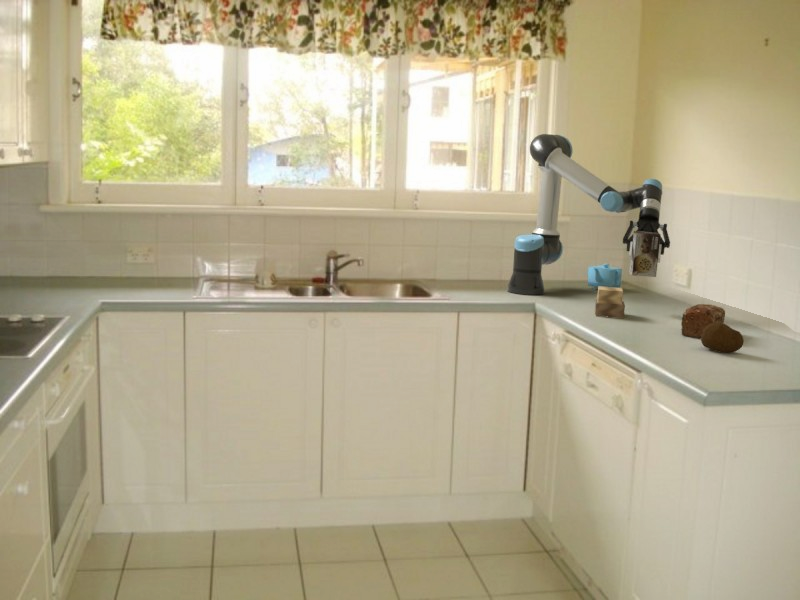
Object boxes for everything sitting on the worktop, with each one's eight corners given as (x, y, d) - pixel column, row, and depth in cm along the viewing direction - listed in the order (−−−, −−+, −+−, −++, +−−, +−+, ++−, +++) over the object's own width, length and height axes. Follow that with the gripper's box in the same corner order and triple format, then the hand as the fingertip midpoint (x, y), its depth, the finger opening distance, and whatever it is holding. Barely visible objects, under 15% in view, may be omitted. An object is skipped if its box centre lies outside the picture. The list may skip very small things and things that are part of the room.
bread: (711, 340, 287) (714, 310, 286) (678, 335, 293) (681, 306, 291) (724, 332, 303) (727, 303, 301) (692, 327, 308) (695, 299, 307)
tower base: (595, 317, 321) (596, 303, 320) (594, 312, 331) (595, 299, 330) (623, 319, 319) (624, 305, 318) (622, 314, 329) (623, 301, 328)
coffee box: (653, 274, 335) (658, 232, 332) (656, 277, 329) (661, 234, 326) (628, 272, 336) (633, 230, 333) (631, 275, 329) (636, 232, 326)
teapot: (629, 290, 387) (631, 265, 385) (607, 294, 374) (610, 267, 372) (597, 285, 398) (599, 260, 396) (575, 288, 385) (577, 262, 383)
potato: (731, 357, 264) (735, 328, 262) (693, 349, 272) (697, 321, 270) (743, 353, 270) (747, 325, 268) (706, 346, 278) (709, 318, 276)
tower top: (597, 303, 321) (599, 289, 320) (597, 299, 329) (598, 286, 328) (621, 305, 319) (623, 291, 318) (620, 301, 327) (621, 287, 327)
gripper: (620, 204, 340) (613, 249, 328) (681, 209, 334) (676, 255, 322) (619, 217, 346) (612, 262, 334) (678, 222, 340) (674, 268, 328)
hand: (644, 258), depth 328 cm, fingers closed on coffee box, 10 cm apart
